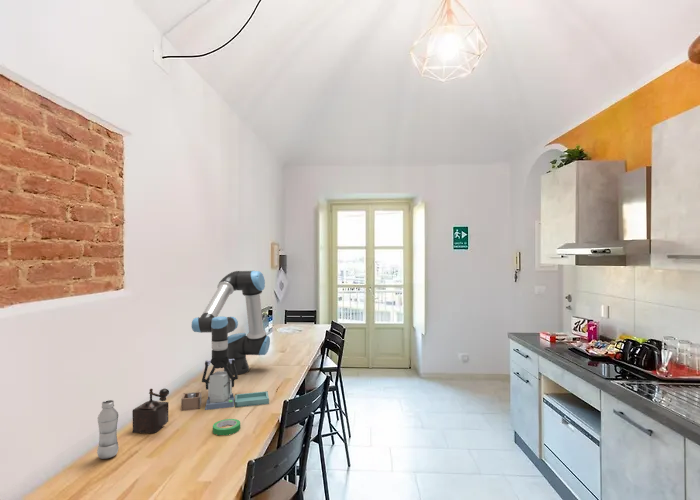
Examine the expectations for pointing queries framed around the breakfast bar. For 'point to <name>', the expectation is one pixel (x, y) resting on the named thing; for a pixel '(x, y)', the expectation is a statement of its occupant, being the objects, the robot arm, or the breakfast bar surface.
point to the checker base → (220, 404)
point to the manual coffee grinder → (151, 414)
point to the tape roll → (226, 431)
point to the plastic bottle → (107, 431)
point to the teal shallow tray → (251, 399)
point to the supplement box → (219, 386)
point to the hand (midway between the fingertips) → (220, 394)
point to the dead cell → (191, 395)
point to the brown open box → (191, 402)
